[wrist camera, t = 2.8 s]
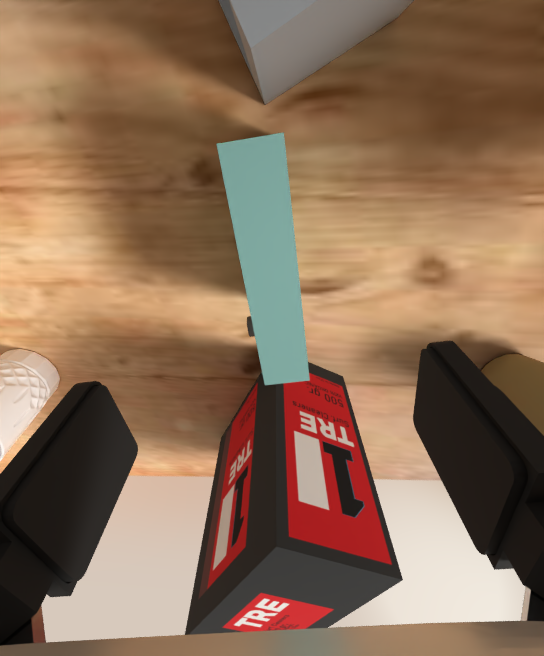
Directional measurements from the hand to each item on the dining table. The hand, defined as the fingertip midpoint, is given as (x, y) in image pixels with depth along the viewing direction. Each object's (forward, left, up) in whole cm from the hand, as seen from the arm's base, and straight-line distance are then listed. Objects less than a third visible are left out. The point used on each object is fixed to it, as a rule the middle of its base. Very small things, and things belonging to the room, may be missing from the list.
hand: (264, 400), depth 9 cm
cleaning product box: (-20, +10, -22) cm, 31 cm away
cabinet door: (0, 0, -22) cm, 22 cm away
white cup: (-1, +33, -22) cm, 40 cm away
